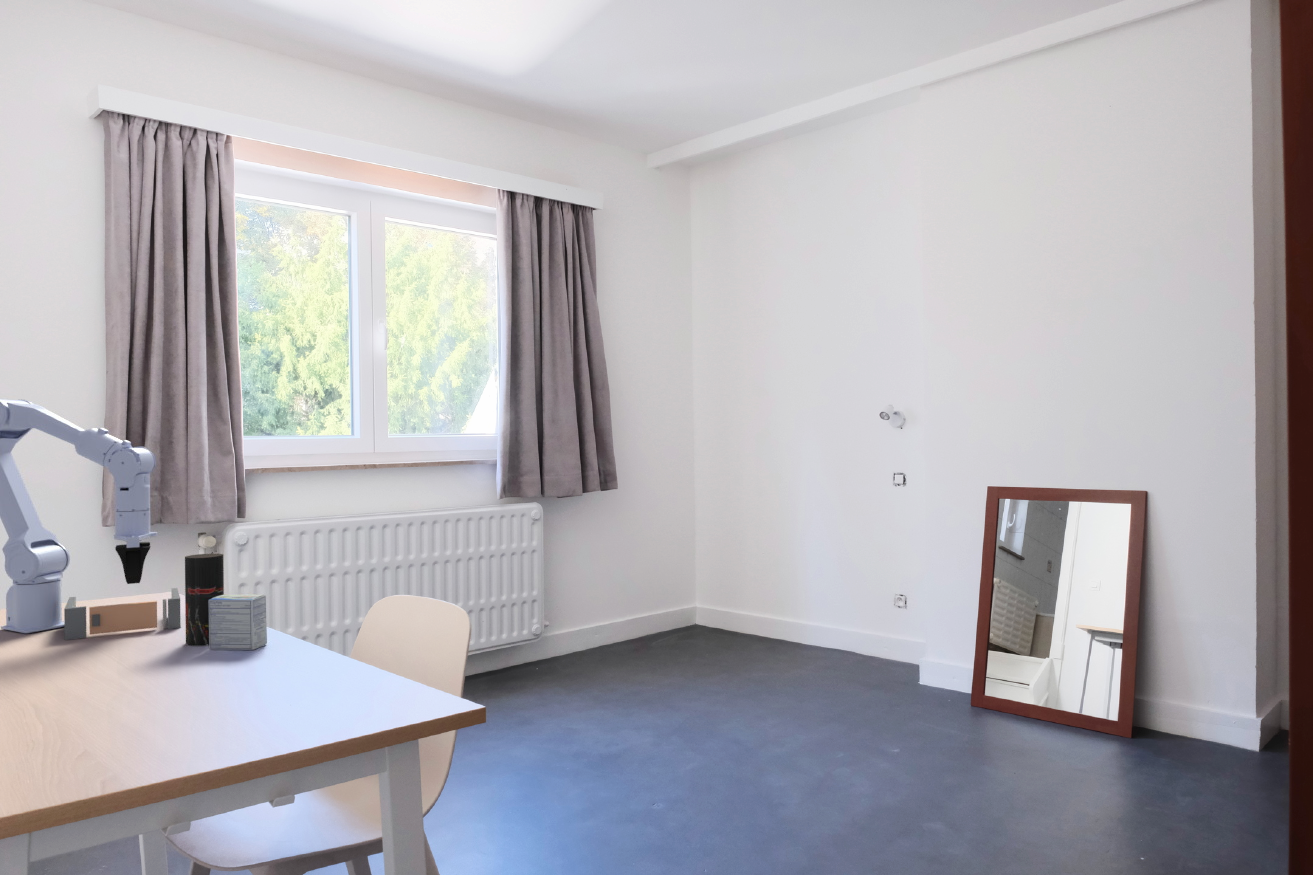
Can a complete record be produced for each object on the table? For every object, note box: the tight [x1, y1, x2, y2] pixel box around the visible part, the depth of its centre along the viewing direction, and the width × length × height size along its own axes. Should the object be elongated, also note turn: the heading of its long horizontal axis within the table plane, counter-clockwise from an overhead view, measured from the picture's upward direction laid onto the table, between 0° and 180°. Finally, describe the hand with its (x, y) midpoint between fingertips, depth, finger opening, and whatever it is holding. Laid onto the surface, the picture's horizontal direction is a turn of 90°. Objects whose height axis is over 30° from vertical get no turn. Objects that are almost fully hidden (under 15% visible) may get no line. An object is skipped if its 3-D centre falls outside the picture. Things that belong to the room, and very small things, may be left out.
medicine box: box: [208, 593, 268, 651], centre depth 146 cm, size 8×4×9 cm, turn 84°
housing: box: [63, 587, 181, 641], centre depth 163 cm, size 14×18×6 cm
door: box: [88, 600, 158, 635], centre depth 158 cm, size 2×10×5 cm, turn 121°
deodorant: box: [184, 553, 225, 647], centre depth 150 cm, size 6×6×15 cm
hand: (133, 582), depth 164 cm, fingers open, 3 cm apart
